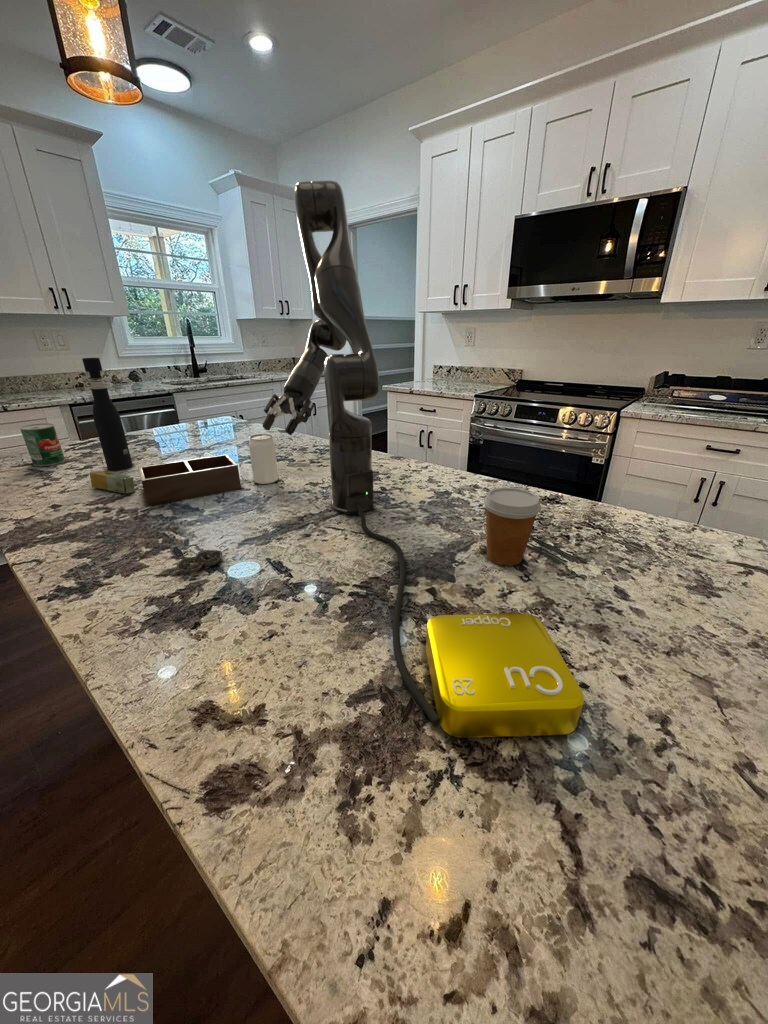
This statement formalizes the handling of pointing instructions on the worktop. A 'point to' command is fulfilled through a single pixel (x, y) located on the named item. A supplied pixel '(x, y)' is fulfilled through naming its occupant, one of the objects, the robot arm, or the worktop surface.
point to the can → (263, 459)
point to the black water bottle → (107, 420)
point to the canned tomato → (43, 444)
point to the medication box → (112, 482)
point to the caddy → (189, 478)
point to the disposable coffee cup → (509, 523)
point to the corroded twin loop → (199, 561)
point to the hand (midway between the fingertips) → (276, 431)
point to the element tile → (499, 677)
